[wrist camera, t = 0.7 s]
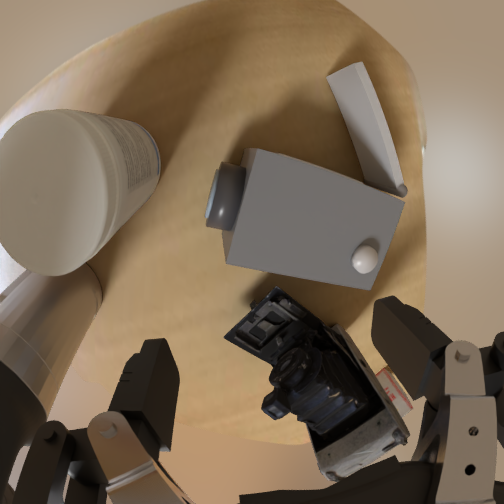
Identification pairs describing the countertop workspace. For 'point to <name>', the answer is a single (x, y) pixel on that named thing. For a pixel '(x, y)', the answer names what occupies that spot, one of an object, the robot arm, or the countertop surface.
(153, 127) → the countertop surface
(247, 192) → the camera housing
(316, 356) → the vintage camera
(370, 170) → the side door
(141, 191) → the supplement tub
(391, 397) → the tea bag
